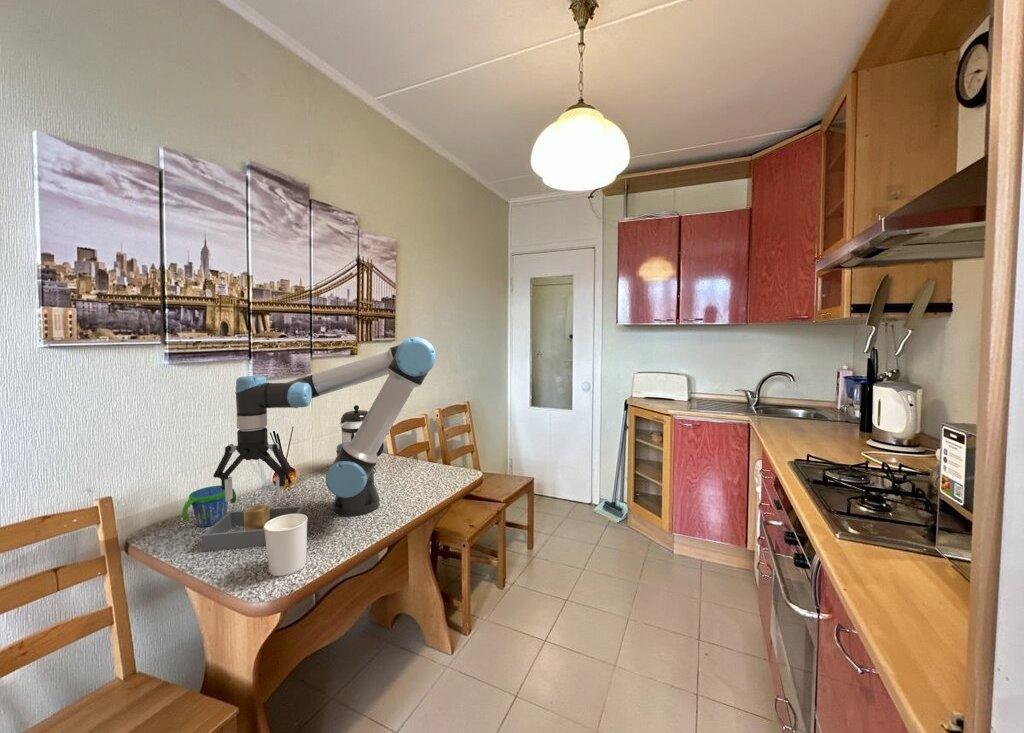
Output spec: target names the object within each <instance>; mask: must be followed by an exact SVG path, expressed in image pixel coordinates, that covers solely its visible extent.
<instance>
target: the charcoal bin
mask: <svg viewBox="0 0 1024 733" xmlns="http://www.w3.org/2000/svg"><path fill="white" fill-rule="evenodd" d="M246 510H247V509H245V510H235V511H234V510H231V511H227V514H226V515H225V516H223V517H222V518H221V519H220V520H219V521H218V522H216V523H215V524H214V525H211V527H210V528H208V529H207V530H206V531H205V532H204V533H203V534H202V535H200V542H201V545H200V546H201V547H200V548H201V552H202V551H204V552H215V551H221V550H222V551H223V550H234V549H235V550H236V549H244V548H245V549H246V548H253V547H254V548H255V547H262V546H263V547H264V546H265V547H266V541H265V532H264V529H256V530H245V531H244V530H237V531H236V530H235V531H229V530H230V529H231V528H232V527H241V526H244V512H245V511H246ZM287 514H303V515H306V504H305V505H295V506H281V507H280V506H279V507H269V515H270V520H271V519H274V518H276V517H279V516H283V515H287Z"/></svg>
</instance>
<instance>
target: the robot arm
mask: <svg viewBox="0 0 1024 733" xmlns="http://www.w3.org/2000/svg"><path fill="white" fill-rule="evenodd" d="M436 358H437V357H436V350H435V348H434V346H433V345H432V343H431V342H430V341H428V340H427V339H425V338H422V337H420V336H419V337H418V336H412V337H408V338H406V339H404V340H403V341H402V342H401V343H400V344H397V345H394V346H392V347H389V348H388V350H387V351H385V352H382V353H378V354H375V355H372V356H369V357H366V358H363V359H359V360H356V361H355V360H354V361H352V362H349V363H345V364H342V365H339V366H336V367H334V368H333V367H332V368H330V369H326V370H323V371H320V372H317V373H313V374H311V375H306V376H303V377H298V378H296V379H294V380H290V381H288V382H268V380H267V379H266V376H263V375H248V376H246V375H244V376H241V377H238V378H236V381H235V392H234V393H235V400H236V402H235V403H236V429H238V430H237V432H236V434H237V438H236V439H237V445H234V444H233V443H230V444H228V445H227V446H225V448H224V454H223V456H222V458H221V459H220V462H219V464H217V468H216V470H215V471H214V474H213V478H215V479H216V478H217V479H220V480H221V481H220V482H221V483H220V484H221V485H222V490H225V502H227V501H228V502H230V500H231V499H232V498H233V491H232V488H233V476H230V475H231V474H233V471H235V470H236V468H237V467H238V466H239V465H240V464H241V463H242V462H243V460H246V461H250V460H254V461H257V460H259V459H260V460H261V461H262V462H264V463H265V464H266V465H268V466H269V467H268V468H270V469H271V470H272V471H273V472H275V474H276V475H277V476H275V488H276V489H275V493H276V497H275V498H276V499H281V497H282V496H283V487H284V486H285V485H286V476H287V475H289V474H290V473H291V472H292V471H293V468H292V466H291V464H290V463H289V462H288V460H287V458H286V457H285V454H284V453H283V451H282V449H281V445H280V444H281V443H280V442H275V443H271V444H269V442H268V436H269V435H268V428H267V425H268V409H278V408H279V409H281V408H282V409H284V408H285V409H287V408H290V409H291V408H293V409H299V408H307V407H309V406H310V404H311V402H312V399H314V398H318V397H320V396H323V395H327V394H331V393H333V392H336V391H340V390H343V389H347V388H349V387H354V386H356V385H358V384H362V383H365V382H369V381H372V380H375V379H378V378H381V377H385V376H387V378H386V380H385V382H384V384H383V385H382V387H381V389H380V391H379V392H378V393H377V396H376V398H375V400H374V401H373V403H372V405H371V406H370V407H369V410H367V411H368V413H367V415H366V417H365V418H364V420H363V422H362V424H361V425H360V427H359V429H358V431H357V432H356V434H355V436H354V438H353V439H352V441H351V442H345V443H342V442H341V443H338V445H337V446H336V451H335V452H336V457H335V459H334V460H333V463H332V464H331V466H329V467H328V469H327V471H326V474H325V485H326V487H327V489H328V491H329V492H330V493H332V495H334V501H333V504H332V505H333V506H332V507H333V508H332V511H333V513H334V514H335V515H337V516H340V517H355V516H362V515H366V514H368V513H372V512H373V511H375V510H377V509H378V508H379V507H380V504H381V500H380V495H379V493H378V490H377V488H376V484H375V479H374V478H375V477H374V476H375V475H374V472H375V470H374V468H375V467H376V465H377V463H378V462H379V459H378V458H379V456H378V457H377V452H378V450H379V448H380V447H381V445H382V443H383V441H385V440H386V439H387V436H388V434H389V432H390V430H391V429H392V427H393V425H394V424H395V422H396V420H397V418H398V416H399V414H400V413H401V411H402V409H403V408H404V406H405V405H406V402H407V400H408V399H409V397H410V395H411V394H412V392H413V390H414V389H415V388H418V387H421V386H422V384H423V382H424V380H425V378H426V377H427V374H428V373H429V372H430V371H432V369H433V368H434V366H435V363H436ZM269 450H270V451H271V452H272V453H273V455H274V457H275V459H276V460H277V461H278V462H277V461H276V460H275V459H274V458H273V457H272V456H271V454H270V453H269V452H268V451H269ZM236 451H237V453H238V454H239V455H238V456H237V457H236V458H235V460H234V461H233V462H232V463H231V464H230V466H229V467H228V468H227V469H226V470H225V468H226V467H227V465H228V463H229V461H230V459H231V457H232V455H233V453H234V452H236Z"/></svg>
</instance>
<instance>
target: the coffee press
mask: <svg viewBox="0 0 1024 733" xmlns="http://www.w3.org/2000/svg"><path fill="white" fill-rule="evenodd" d="M359 409H360V407H359V405H356V404H355V405H353V410H348V411H346V412H344V413H343V414H342V415H341V417H340V422H339V425H338V426H339V427H341V430H340V431H341V443H345V442H351V441H352V439H353V438H354V436H355V434H356V432H357V431H358V429H359V427H360V425H361V424H362V422H363V420H364V418H365V417H366V415H367V413H368V411H369V410H365V409H360V410H359ZM384 441H385V440H384ZM384 441H383V443H382V445H381V447H380V448H379V450H378V452H377V457H378V458H379V457H380V456H381V455H382V453H383V451H384V446H385V445H384ZM376 472H377V469H376V468H375V467H374V473H376Z"/></svg>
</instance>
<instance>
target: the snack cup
mask: <svg viewBox="0 0 1024 733" xmlns="http://www.w3.org/2000/svg"><path fill="white" fill-rule="evenodd" d="M232 491H233V498H232V499H231V500H229V501H227V502H225V490H222V485H212V486H206V487H202V488H198V489H196V490H195V491H192V492H190V493H189V495H188V500H187V501H186V502H185V504H184V505H183V508H182V512H181V513H182V514H181V517H182V520H183V521H184V522H186V523H189V522H190V518H189V513H188V510H189V508H190V507H191V506H192V510H193V515H194V518H195V519H194V520H195V522H196V524H197V525H198V526H199V527H210V525H211V526H213V525H214V524H215V523H216V522H218V521H219V520H220V519H221V518H222V517H223V516H225V515H226V514H227V513H228V504H229V502H230V503H231V504H235V503H236V502H237V494H236V491H235V489H234V488H233V487H232Z"/></svg>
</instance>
